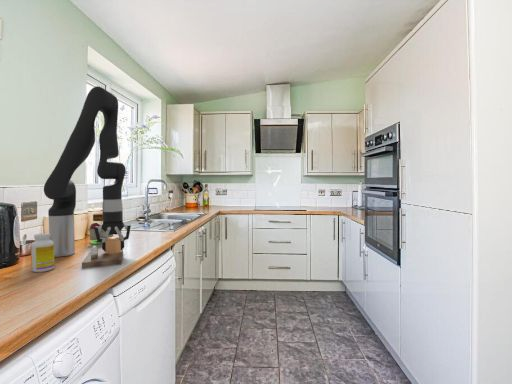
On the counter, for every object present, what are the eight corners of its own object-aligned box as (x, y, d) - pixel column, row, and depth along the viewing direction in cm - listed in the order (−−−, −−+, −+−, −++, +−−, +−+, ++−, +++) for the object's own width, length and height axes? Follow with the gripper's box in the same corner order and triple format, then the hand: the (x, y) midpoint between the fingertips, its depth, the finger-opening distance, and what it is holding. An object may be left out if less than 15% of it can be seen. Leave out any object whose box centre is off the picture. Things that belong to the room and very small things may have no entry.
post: (90, 259, 112) (90, 247, 112) (91, 258, 114) (91, 245, 114) (97, 258, 113) (97, 246, 113) (98, 257, 115) (98, 245, 115)
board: (81, 268, 108) (81, 262, 108) (89, 256, 124) (89, 252, 124) (121, 264, 112) (121, 259, 112) (123, 253, 129) (123, 249, 129)
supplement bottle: (59, 268, 108) (58, 233, 107) (40, 273, 102) (39, 236, 101) (45, 266, 110) (45, 232, 110) (27, 271, 104) (26, 235, 103)
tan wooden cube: (105, 254, 120) (104, 239, 120) (106, 251, 125) (106, 237, 125) (120, 253, 122) (120, 238, 122) (121, 250, 127) (121, 236, 127)
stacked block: (84, 242, 154) (83, 214, 153) (109, 239, 162) (109, 212, 162) (90, 246, 145) (89, 215, 145) (117, 242, 154) (116, 213, 153)
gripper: (91, 211, 117) (92, 254, 117) (131, 210, 122) (132, 250, 123) (94, 210, 124) (95, 250, 124) (131, 208, 129) (132, 247, 130)
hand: (113, 250), depth 124 cm, fingers closed on tan wooden cube, 5 cm apart
